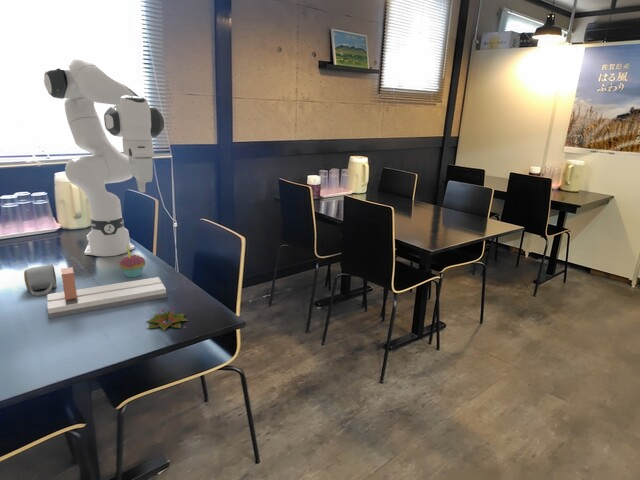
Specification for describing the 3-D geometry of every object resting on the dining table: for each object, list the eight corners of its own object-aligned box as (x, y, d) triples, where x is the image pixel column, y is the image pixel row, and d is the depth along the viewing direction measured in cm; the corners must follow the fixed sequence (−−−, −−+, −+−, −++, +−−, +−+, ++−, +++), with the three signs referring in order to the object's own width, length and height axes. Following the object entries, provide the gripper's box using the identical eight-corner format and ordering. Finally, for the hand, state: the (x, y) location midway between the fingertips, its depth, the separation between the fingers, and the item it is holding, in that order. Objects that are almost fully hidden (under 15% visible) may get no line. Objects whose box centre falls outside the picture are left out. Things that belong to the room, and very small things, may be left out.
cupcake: (136, 280, 149) (133, 247, 146) (115, 277, 151) (111, 245, 148) (151, 272, 158) (148, 240, 154) (130, 269, 159) (127, 238, 156)
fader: (65, 299, 129) (61, 268, 127) (76, 297, 131) (72, 267, 128) (66, 305, 125) (61, 274, 123) (77, 303, 127) (73, 272, 124)
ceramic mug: (27, 286, 142) (24, 264, 139) (56, 282, 146) (53, 260, 143) (26, 299, 133) (22, 276, 130) (56, 294, 137) (53, 272, 135)
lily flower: (150, 314, 127) (149, 299, 126) (192, 313, 129) (191, 298, 128) (139, 334, 116) (138, 318, 114) (185, 332, 117) (184, 317, 116)
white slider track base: (48, 303, 130) (47, 294, 129) (159, 285, 146) (158, 276, 145) (49, 318, 121) (47, 308, 120) (166, 297, 137) (165, 288, 137)
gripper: (122, 146, 144) (126, 187, 148) (132, 152, 128) (136, 198, 132) (142, 146, 148) (145, 186, 152) (155, 152, 131) (158, 196, 135)
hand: (141, 191), depth 142 cm, fingers closed
